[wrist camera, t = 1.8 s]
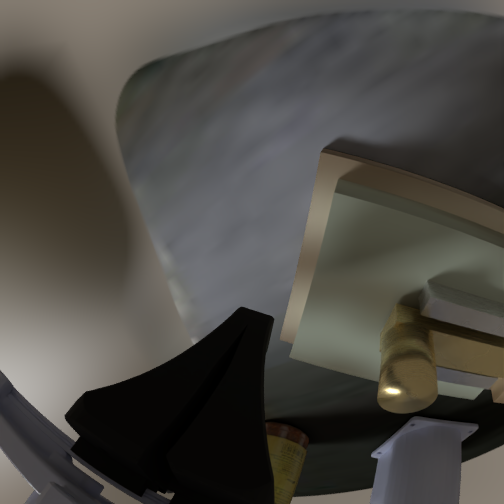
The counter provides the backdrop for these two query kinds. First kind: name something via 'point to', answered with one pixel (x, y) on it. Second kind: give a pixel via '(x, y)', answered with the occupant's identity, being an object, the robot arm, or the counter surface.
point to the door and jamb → (385, 260)
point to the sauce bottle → (286, 458)
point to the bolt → (429, 357)
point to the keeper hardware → (462, 324)
